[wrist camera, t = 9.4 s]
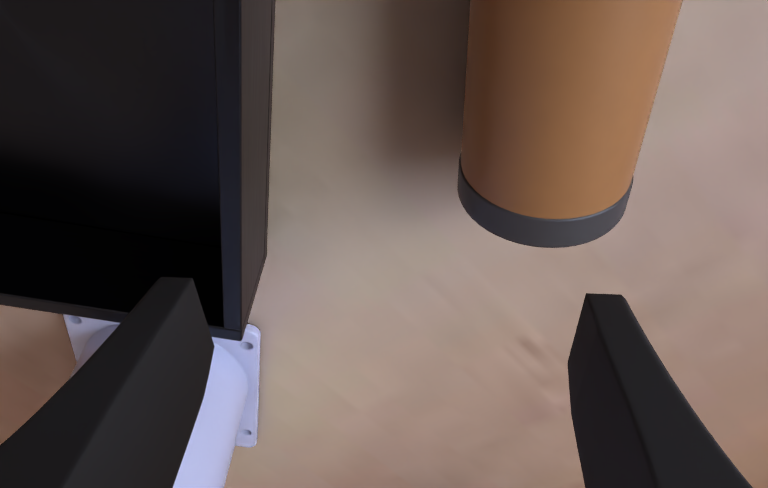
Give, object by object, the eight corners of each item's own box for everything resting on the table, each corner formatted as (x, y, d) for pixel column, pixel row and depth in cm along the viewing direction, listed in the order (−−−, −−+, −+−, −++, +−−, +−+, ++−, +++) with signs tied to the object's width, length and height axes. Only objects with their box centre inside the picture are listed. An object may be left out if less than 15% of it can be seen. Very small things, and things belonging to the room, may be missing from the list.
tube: (605, 141, 21) (645, 247, 17) (453, 144, 21) (463, 250, 17) (719, -336, 13) (828, -308, 10) (475, -327, 13) (501, -296, 10)
